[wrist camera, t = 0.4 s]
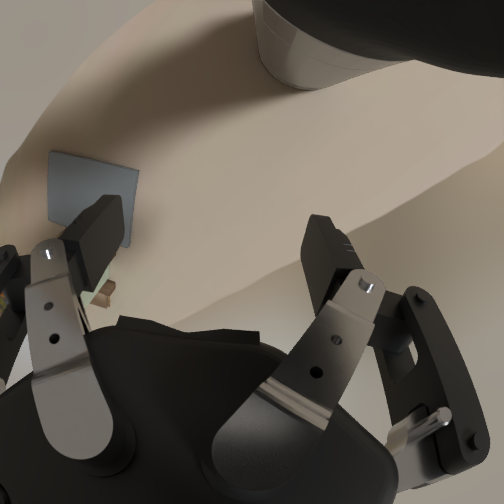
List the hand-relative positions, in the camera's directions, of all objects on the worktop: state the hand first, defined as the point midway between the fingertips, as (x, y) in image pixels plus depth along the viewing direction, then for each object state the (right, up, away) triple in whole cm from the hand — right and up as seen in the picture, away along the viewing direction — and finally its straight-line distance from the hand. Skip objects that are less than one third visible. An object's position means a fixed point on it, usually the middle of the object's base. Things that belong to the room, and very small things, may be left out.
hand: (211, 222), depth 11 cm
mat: (-19, +6, +18) cm, 27 cm away
